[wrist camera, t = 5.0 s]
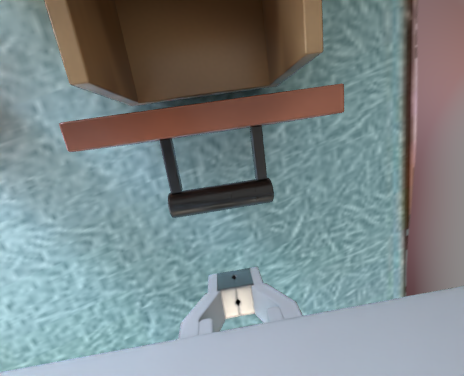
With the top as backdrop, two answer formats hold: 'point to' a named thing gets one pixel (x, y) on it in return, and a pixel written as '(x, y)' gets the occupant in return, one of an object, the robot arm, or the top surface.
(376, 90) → the top surface
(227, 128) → the drawer
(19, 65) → the top surface
